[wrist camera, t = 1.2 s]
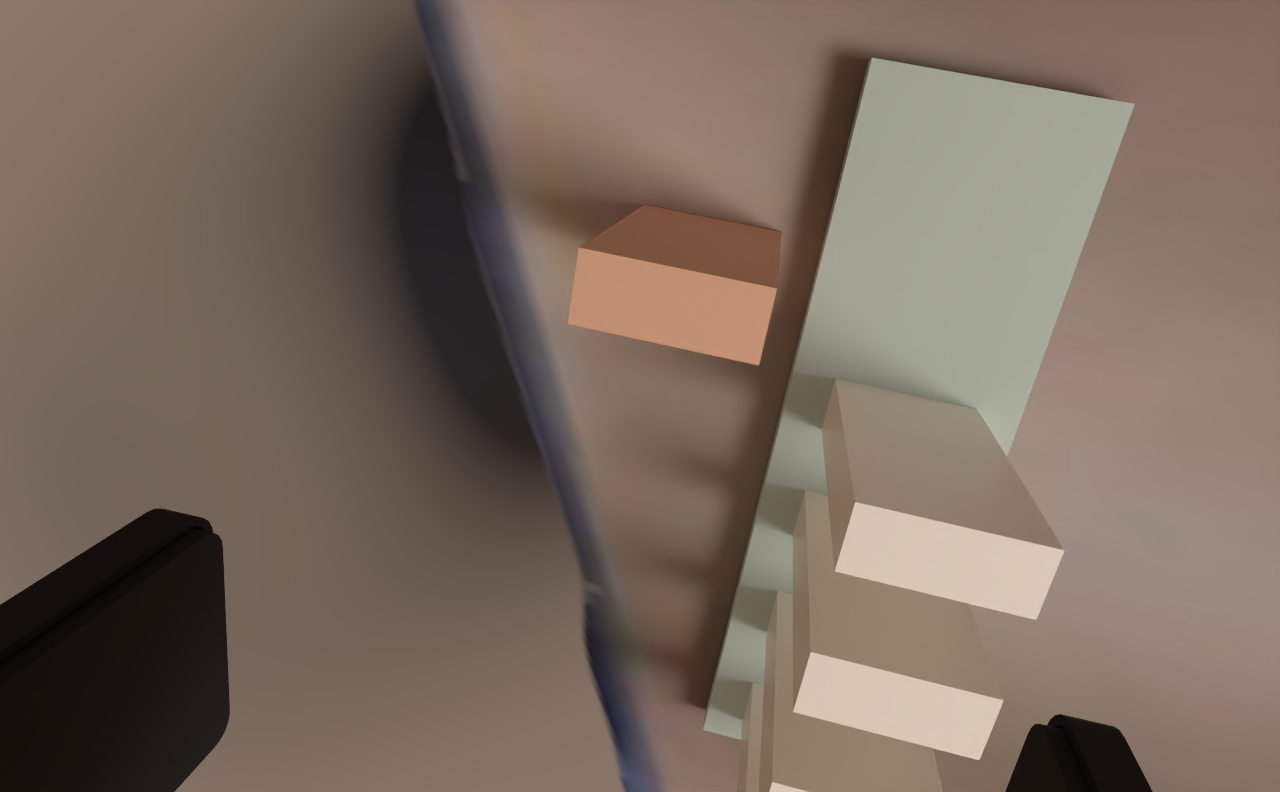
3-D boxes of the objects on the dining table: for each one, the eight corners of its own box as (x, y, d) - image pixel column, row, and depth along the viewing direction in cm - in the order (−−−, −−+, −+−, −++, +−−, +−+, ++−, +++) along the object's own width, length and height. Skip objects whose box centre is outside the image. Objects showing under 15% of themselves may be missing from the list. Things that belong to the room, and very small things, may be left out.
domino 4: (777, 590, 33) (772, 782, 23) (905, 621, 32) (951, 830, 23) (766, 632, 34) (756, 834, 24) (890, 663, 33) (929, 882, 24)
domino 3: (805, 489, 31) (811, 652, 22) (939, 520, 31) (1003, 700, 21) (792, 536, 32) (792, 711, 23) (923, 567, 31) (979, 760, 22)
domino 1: (644, 204, 30) (578, 247, 21) (781, 231, 30) (777, 288, 20) (635, 258, 31) (567, 323, 21) (768, 286, 30) (759, 365, 21)
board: (868, 59, 27) (871, 57, 26) (1120, 104, 26) (1134, 104, 25) (705, 710, 37) (702, 729, 36) (887, 758, 36) (890, 779, 35)
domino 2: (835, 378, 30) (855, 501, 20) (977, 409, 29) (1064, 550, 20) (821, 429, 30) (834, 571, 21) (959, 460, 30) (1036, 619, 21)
